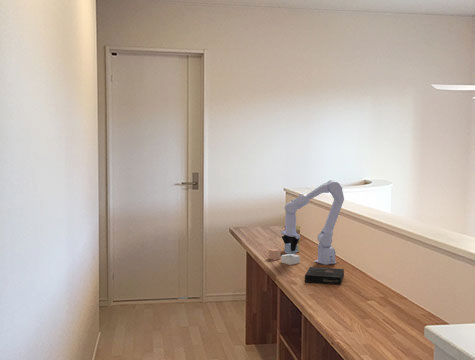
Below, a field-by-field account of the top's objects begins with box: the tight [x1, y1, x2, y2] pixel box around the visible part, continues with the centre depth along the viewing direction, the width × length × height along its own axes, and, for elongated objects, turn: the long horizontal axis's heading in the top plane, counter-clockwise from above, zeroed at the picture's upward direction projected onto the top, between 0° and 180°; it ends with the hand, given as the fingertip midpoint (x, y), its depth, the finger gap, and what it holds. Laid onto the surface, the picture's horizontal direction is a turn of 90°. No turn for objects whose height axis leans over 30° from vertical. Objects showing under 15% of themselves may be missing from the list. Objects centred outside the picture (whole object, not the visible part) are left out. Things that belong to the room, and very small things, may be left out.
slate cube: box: [284, 243, 297, 255], centre depth 301 cm, size 4×4×5 cm
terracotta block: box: [268, 248, 281, 261], centre depth 311 cm, size 4×4×5 cm
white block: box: [280, 253, 301, 266], centre depth 302 cm, size 7×7×4 cm
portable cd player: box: [304, 266, 345, 286], centre depth 268 cm, size 16×17×4 cm
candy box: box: [296, 225, 301, 253], centre depth 330 cm, size 9×4×15 cm, turn 39°
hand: (290, 249), depth 301 cm, fingers closed on slate cube, 4 cm apart
